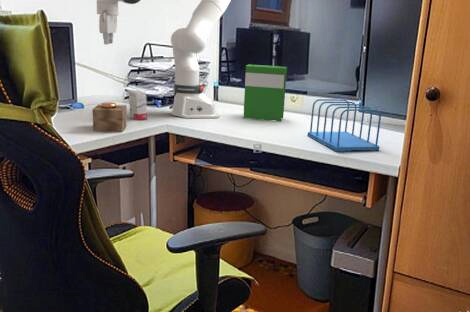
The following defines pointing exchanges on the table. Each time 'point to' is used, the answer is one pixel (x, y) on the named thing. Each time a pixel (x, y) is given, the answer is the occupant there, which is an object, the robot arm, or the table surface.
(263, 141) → the table surface
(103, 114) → the block
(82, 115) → the table surface
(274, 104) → the green cereal box
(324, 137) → the file sorter
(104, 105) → the pin
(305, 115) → the table surface
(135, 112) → the ink box
